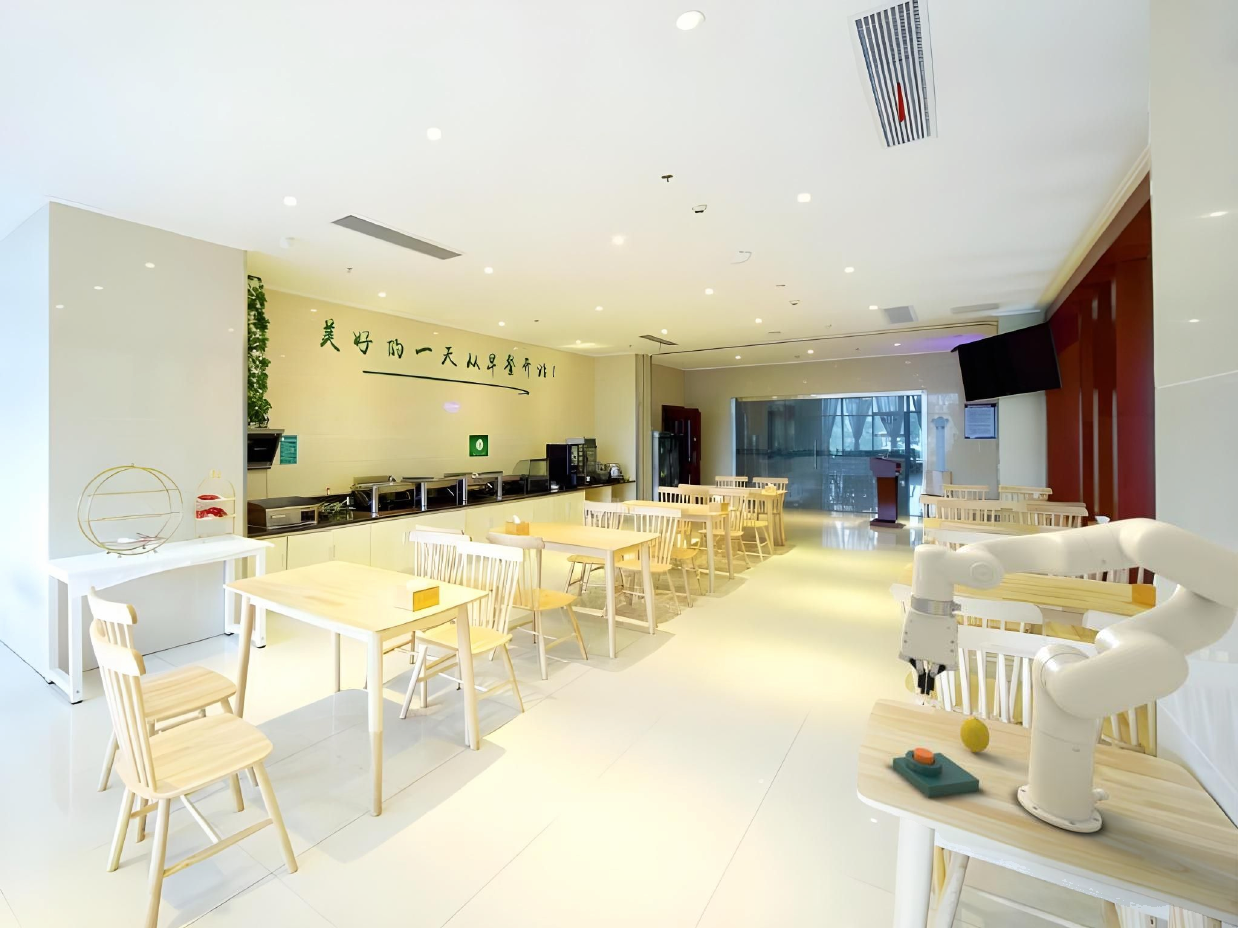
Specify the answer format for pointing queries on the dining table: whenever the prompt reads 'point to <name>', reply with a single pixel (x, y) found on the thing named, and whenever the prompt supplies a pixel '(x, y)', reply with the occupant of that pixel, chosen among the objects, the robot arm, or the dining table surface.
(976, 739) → the lemon
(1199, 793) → the dining table surface
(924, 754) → the orange button cap
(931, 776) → the button base
